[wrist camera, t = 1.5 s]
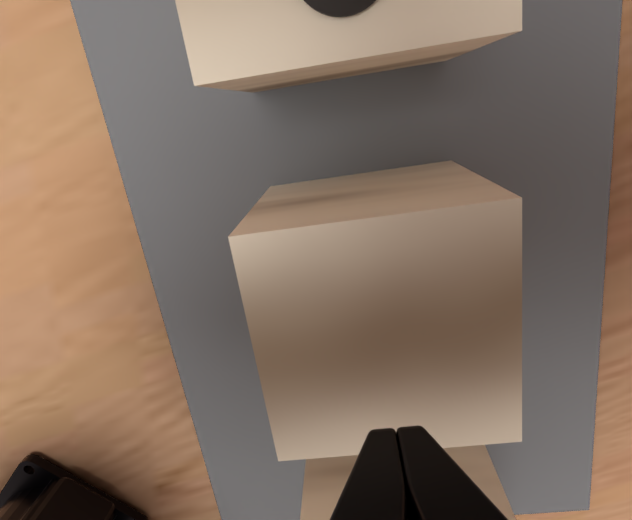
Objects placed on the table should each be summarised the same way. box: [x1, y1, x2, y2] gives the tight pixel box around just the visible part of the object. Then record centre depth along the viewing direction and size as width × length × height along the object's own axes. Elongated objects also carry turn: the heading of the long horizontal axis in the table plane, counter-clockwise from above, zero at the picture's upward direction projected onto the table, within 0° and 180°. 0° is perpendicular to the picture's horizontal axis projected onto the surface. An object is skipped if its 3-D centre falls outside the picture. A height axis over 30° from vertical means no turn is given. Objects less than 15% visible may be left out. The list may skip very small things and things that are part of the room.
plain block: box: [228, 160, 522, 461], centre depth 13 cm, size 6×6×6 cm
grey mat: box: [70, 0, 622, 520], centre depth 16 cm, size 25×16×1 cm, turn 9°
